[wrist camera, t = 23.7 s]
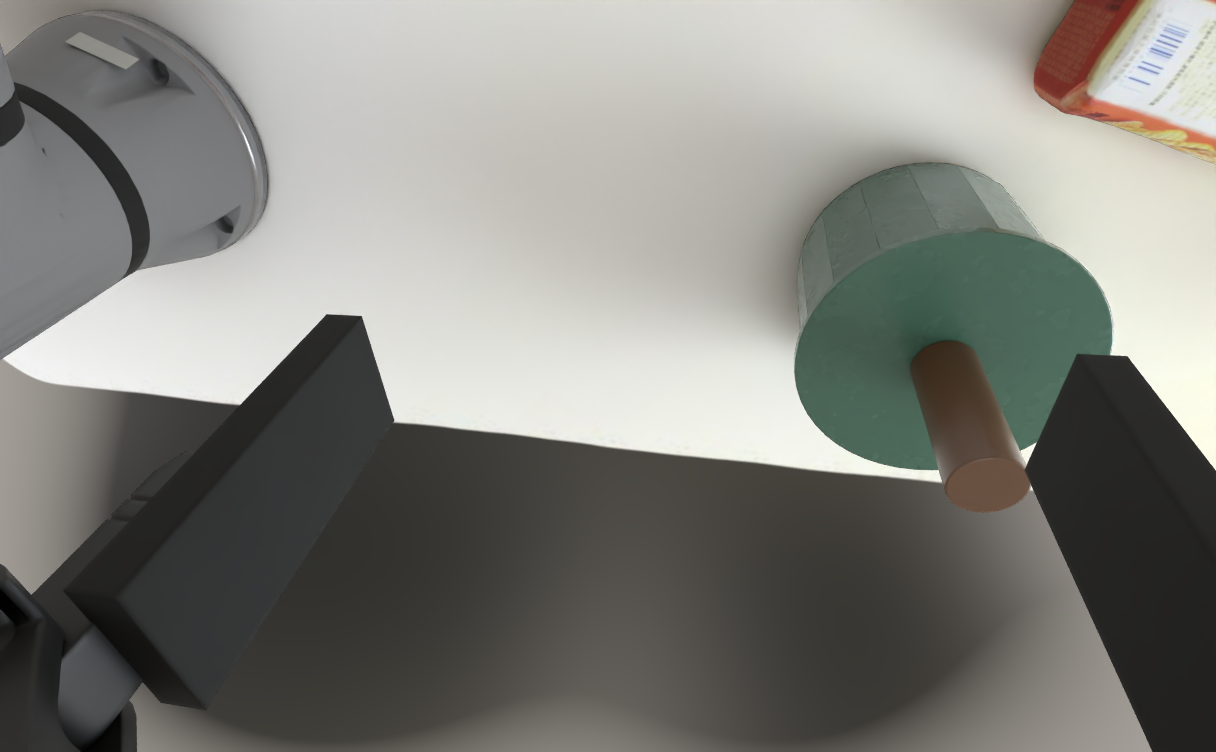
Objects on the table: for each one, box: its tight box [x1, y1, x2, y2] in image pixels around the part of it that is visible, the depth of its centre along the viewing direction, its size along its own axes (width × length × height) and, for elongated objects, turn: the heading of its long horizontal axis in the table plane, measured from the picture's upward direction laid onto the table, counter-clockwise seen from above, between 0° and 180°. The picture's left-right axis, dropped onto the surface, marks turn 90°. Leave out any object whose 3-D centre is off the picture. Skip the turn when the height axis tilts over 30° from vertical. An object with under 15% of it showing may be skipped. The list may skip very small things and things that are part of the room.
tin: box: [797, 163, 1046, 330], centre depth 36 cm, size 13×13×10 cm
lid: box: [794, 227, 1113, 513], centre depth 29 cm, size 14×14×9 cm
